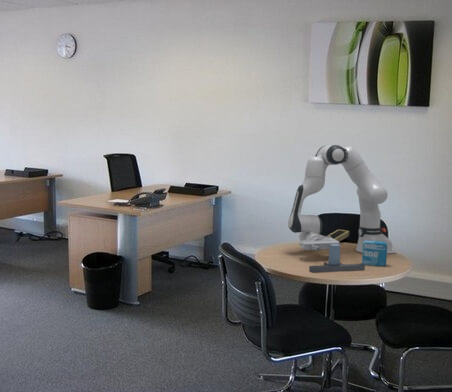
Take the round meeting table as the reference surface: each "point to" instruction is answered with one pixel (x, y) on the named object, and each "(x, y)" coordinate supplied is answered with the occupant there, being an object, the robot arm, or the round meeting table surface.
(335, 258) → the square post
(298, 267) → the round meeting table surface
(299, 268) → the round meeting table surface
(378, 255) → the blue printed carton
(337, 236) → the box
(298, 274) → the round meeting table surface
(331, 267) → the rail bracket
